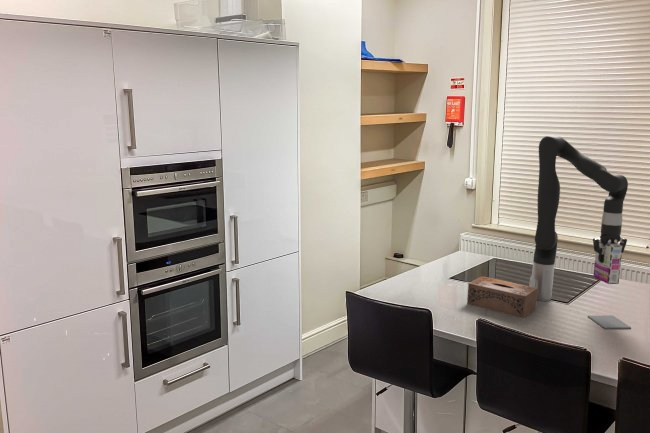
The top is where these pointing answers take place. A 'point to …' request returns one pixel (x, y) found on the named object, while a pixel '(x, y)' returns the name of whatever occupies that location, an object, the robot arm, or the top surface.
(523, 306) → the tissue box cover
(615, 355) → the top surface
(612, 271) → the candy bar box
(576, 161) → the robot arm
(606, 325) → the coaster
